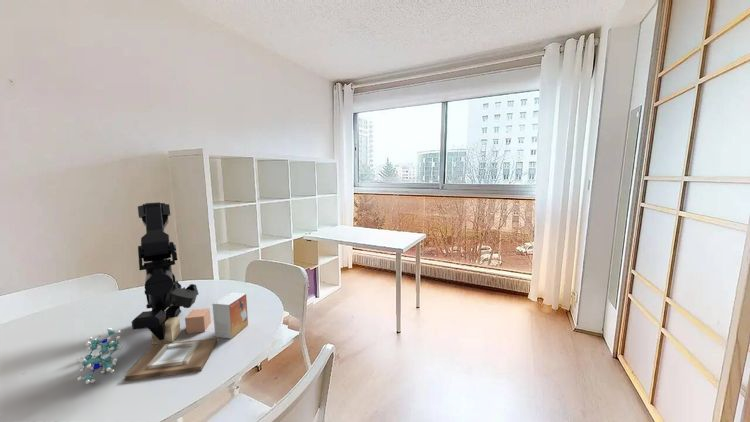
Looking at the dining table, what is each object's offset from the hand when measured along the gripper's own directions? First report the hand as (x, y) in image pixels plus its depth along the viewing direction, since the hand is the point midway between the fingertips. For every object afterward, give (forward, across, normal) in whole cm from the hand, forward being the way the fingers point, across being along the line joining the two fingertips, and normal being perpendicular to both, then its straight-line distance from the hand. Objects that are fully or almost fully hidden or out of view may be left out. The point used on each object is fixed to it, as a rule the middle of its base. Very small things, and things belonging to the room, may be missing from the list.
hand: (166, 334), depth 82 cm
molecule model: (+2, -10, +10) cm, 14 cm away
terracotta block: (+1, +4, -7) cm, 8 cm away
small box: (+2, 0, -18) cm, 18 cm away
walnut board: (+1, -11, -7) cm, 13 cm away
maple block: (+1, 0, 0) cm, 1 cm away
